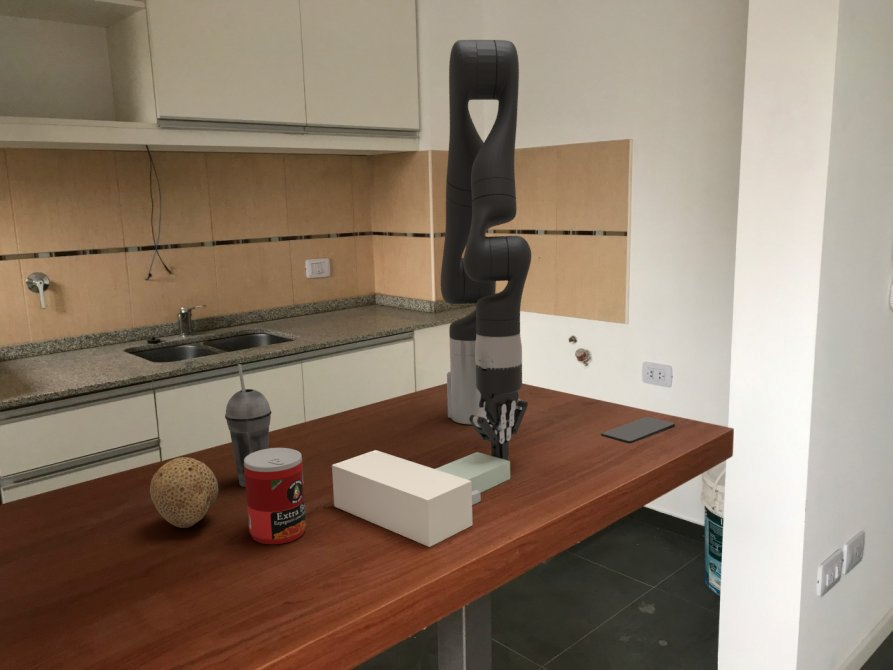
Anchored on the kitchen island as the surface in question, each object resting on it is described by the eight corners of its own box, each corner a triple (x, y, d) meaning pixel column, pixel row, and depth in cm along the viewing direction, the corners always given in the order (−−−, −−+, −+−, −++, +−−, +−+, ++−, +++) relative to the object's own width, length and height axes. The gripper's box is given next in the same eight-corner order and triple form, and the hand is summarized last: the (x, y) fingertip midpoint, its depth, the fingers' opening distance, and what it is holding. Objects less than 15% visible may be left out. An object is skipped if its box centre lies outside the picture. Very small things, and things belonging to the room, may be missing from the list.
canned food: (279, 550, 95) (273, 471, 93) (236, 537, 100) (230, 460, 98) (318, 528, 102) (314, 453, 100) (277, 516, 106) (272, 444, 104)
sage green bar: (408, 498, 111) (408, 479, 110) (477, 468, 122) (477, 451, 122) (442, 510, 106) (441, 491, 106) (510, 478, 118) (510, 461, 117)
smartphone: (599, 433, 138) (646, 416, 148) (599, 437, 138) (646, 420, 148) (630, 441, 133) (676, 423, 142) (630, 446, 133) (676, 427, 143)
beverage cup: (285, 477, 121) (277, 359, 117) (256, 493, 114) (247, 369, 111) (250, 471, 124) (241, 356, 120) (220, 486, 117) (210, 366, 114)
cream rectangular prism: (334, 506, 109) (331, 465, 108) (409, 476, 120) (407, 438, 119) (429, 547, 95) (428, 500, 94) (504, 509, 106) (503, 466, 105)
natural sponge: (184, 508, 109) (178, 445, 108) (234, 515, 106) (228, 450, 105) (140, 534, 101) (133, 466, 99) (193, 543, 98) (186, 472, 96)
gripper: (505, 350, 125) (506, 447, 128) (454, 365, 115) (456, 468, 119) (541, 356, 120) (542, 456, 123) (490, 372, 110) (492, 480, 114)
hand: (500, 462), depth 121 cm, fingers closed
